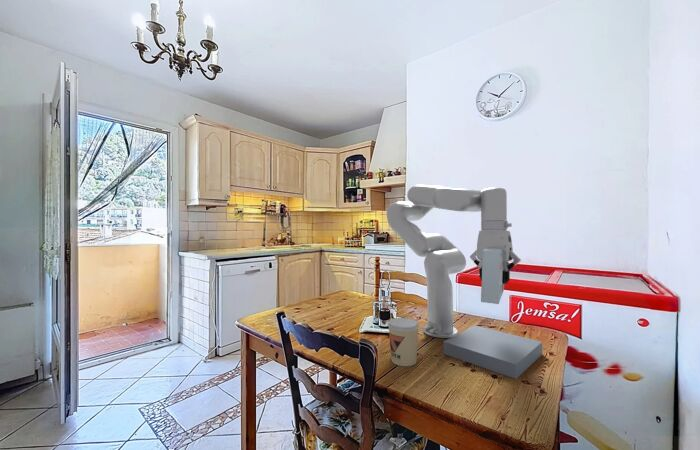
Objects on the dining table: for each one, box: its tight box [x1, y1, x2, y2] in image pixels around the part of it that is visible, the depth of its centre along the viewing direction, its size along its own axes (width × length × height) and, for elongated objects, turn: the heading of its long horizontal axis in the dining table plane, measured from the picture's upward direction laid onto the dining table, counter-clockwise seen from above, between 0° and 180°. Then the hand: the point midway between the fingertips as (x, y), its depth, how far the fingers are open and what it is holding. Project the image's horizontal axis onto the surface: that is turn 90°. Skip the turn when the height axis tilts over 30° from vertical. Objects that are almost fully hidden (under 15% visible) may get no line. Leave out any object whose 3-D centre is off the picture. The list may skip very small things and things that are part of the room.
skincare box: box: [480, 248, 505, 305], centre depth 99 cm, size 21×5×16 cm, turn 149°
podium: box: [442, 324, 543, 380], centre depth 98 cm, size 22×22×4 cm
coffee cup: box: [388, 317, 420, 367], centre depth 95 cm, size 9×9×12 cm
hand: (494, 281), depth 99 cm, fingers closed on skincare box, 6 cm apart
